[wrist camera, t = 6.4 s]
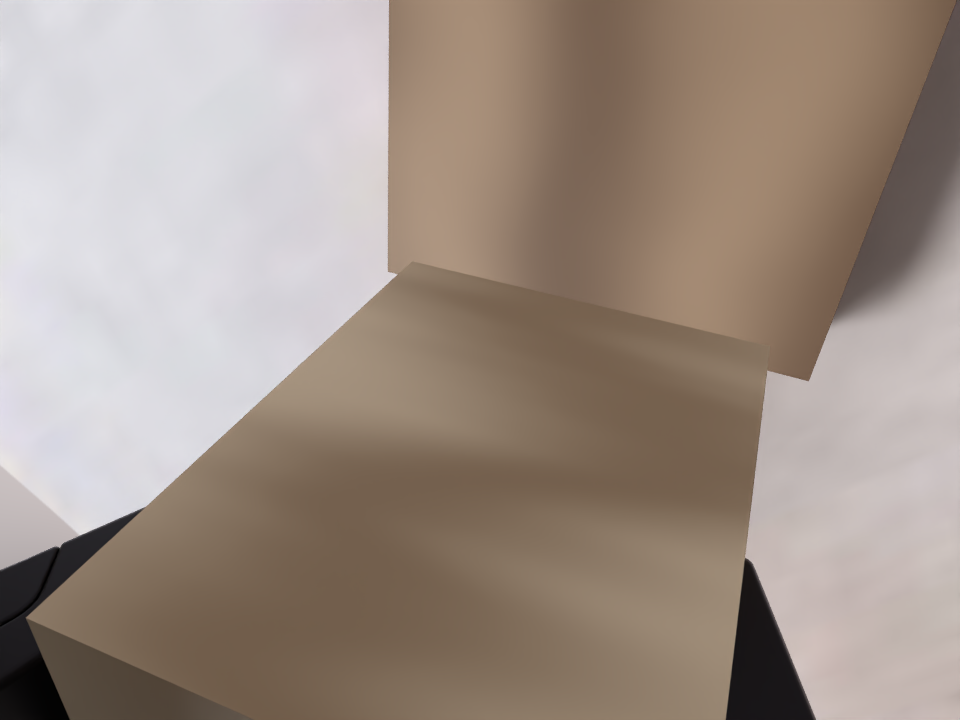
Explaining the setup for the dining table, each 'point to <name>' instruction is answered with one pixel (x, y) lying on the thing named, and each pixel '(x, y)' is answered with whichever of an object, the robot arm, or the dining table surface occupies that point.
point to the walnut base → (655, 150)
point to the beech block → (441, 528)
